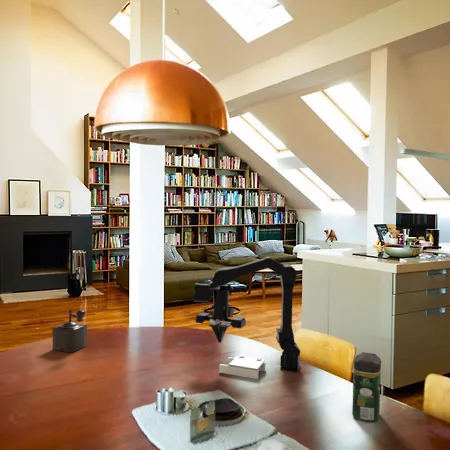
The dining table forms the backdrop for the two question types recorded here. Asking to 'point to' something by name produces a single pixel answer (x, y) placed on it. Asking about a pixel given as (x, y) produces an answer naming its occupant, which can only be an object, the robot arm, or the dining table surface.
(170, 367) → the dining table surface
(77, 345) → the manual coffee grinder
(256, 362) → the cover
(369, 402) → the coffee jar
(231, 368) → the white channel bracket
